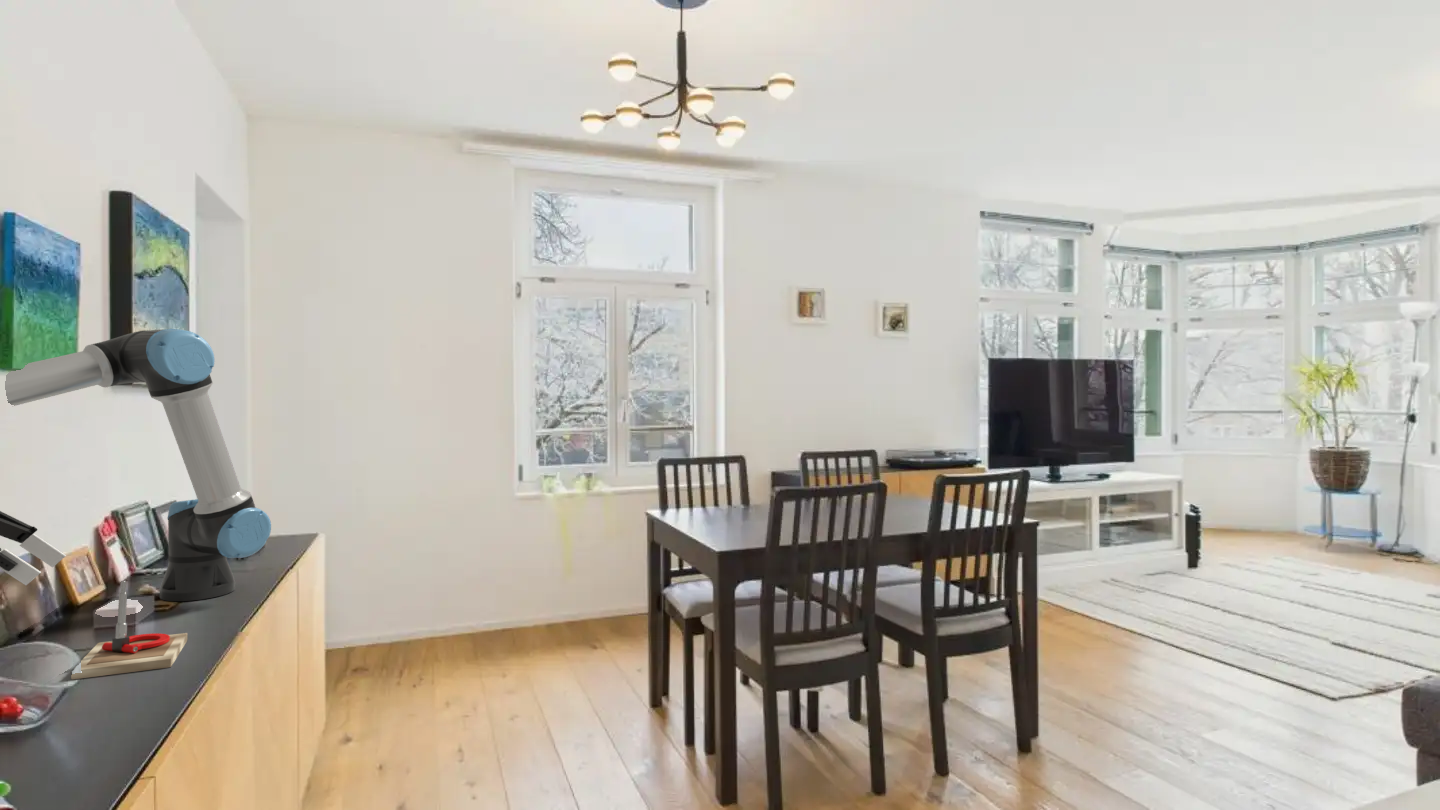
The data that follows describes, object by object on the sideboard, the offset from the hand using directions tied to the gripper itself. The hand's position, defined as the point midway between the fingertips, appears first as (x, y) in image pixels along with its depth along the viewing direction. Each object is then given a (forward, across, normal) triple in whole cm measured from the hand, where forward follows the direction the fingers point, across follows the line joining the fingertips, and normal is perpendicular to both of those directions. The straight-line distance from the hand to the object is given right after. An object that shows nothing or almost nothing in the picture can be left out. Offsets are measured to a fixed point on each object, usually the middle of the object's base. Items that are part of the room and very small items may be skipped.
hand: (47, 569), depth 136 cm
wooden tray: (+21, +3, -3) cm, 22 cm away
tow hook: (+21, 0, -2) cm, 21 cm away
